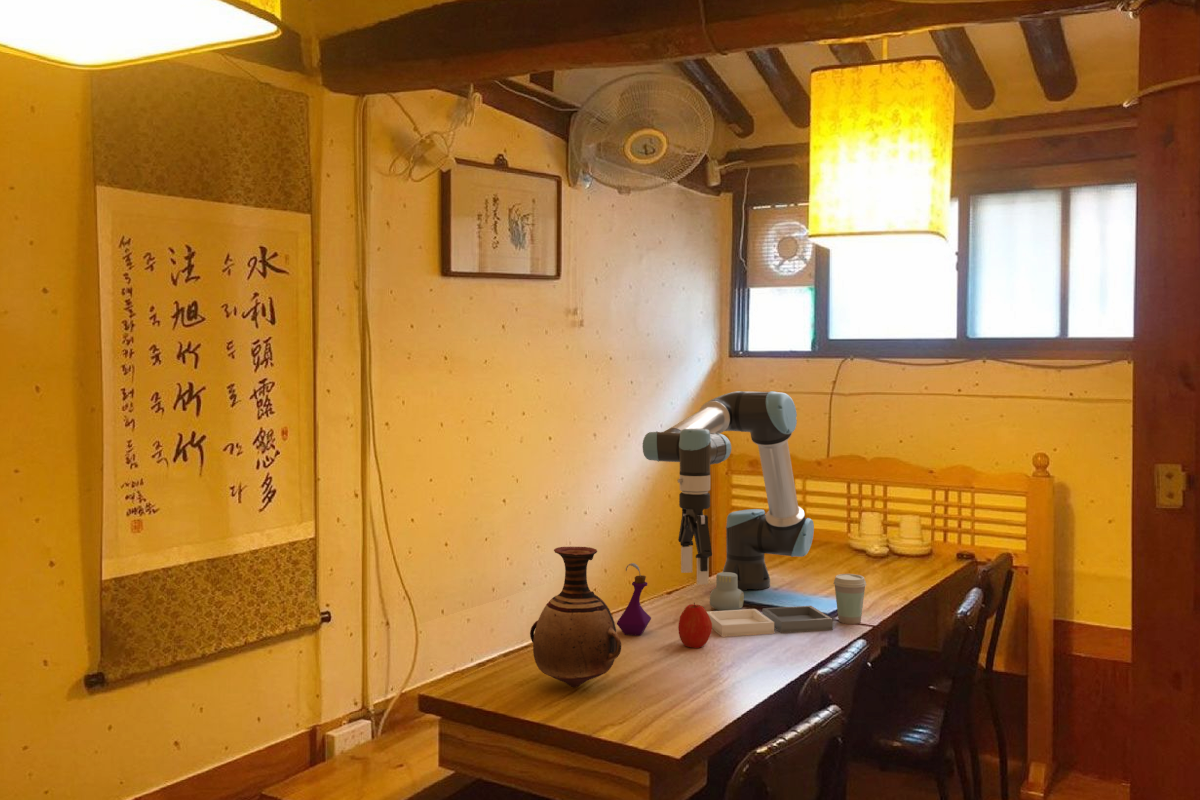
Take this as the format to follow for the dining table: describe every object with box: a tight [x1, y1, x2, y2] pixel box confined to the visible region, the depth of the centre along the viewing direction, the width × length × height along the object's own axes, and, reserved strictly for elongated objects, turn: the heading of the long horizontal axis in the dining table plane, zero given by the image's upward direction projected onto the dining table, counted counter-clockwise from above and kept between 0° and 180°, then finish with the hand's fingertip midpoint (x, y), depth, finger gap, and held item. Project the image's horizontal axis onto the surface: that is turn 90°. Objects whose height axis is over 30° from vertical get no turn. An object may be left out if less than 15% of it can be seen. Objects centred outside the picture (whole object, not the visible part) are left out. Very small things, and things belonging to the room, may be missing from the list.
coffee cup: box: [833, 573, 867, 625], centre depth 275 cm, size 8×9×12 cm
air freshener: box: [709, 571, 745, 611], centre depth 288 cm, size 11×8×10 cm
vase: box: [529, 546, 622, 688], centre depth 222 cm, size 21×18×30 cm
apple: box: [677, 602, 713, 649], centre depth 252 cm, size 8×8×11 cm
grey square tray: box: [761, 605, 834, 634], centre depth 272 cm, size 14×14×3 cm
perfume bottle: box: [616, 562, 652, 637], centre depth 264 cm, size 8×8×18 cm
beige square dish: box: [706, 608, 775, 638], centre depth 269 cm, size 14×14×3 cm
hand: (694, 578), depth 252 cm, fingers open, 13 cm apart
